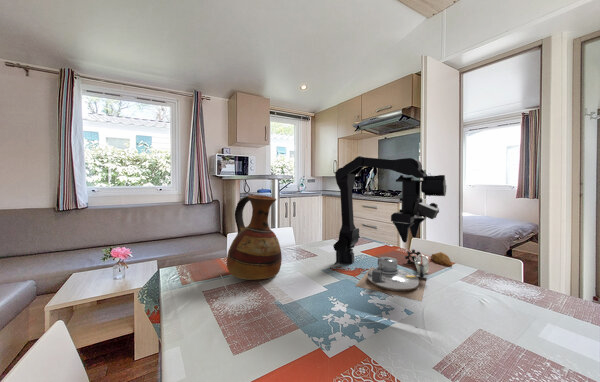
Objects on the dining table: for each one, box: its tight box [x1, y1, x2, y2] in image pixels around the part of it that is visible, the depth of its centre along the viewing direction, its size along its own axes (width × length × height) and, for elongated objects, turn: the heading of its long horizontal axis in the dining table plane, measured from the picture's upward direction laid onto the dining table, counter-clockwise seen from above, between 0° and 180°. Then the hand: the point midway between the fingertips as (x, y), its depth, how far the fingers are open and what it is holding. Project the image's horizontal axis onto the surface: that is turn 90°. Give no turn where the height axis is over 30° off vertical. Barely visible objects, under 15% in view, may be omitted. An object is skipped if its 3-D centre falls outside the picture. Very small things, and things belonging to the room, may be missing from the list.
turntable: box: [367, 268, 419, 291], centre depth 79 cm, size 16×16×5 cm
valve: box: [404, 249, 430, 275], centre depth 91 cm, size 7×7×12 cm
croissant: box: [430, 251, 453, 268], centre depth 98 cm, size 14×7×5 cm, turn 176°
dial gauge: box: [415, 254, 429, 281], centre depth 81 cm, size 4×3×8 cm
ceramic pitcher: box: [226, 193, 283, 280], centre depth 88 cm, size 20×20×30 cm
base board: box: [354, 267, 427, 302], centre depth 79 cm, size 19×19×1 cm
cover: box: [376, 256, 398, 275], centre depth 84 cm, size 7×7×4 cm
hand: (409, 239), depth 83 cm, fingers open, 9 cm apart
